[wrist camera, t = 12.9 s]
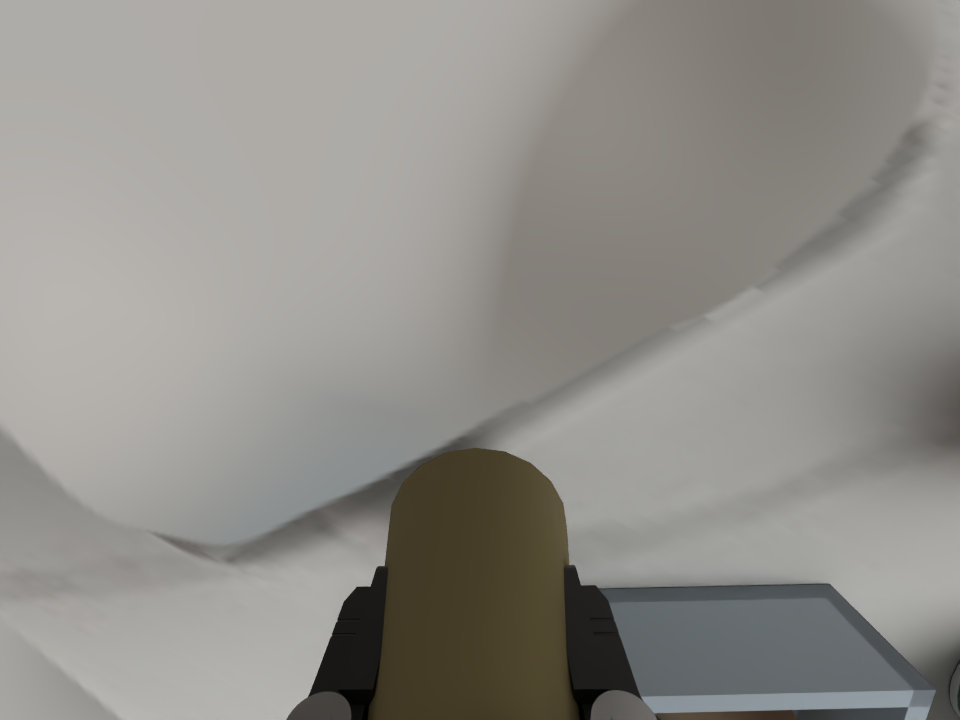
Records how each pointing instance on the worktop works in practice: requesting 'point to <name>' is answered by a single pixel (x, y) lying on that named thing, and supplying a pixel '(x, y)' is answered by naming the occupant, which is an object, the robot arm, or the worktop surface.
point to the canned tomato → (955, 691)
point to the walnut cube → (730, 715)
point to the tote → (764, 653)
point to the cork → (475, 595)
